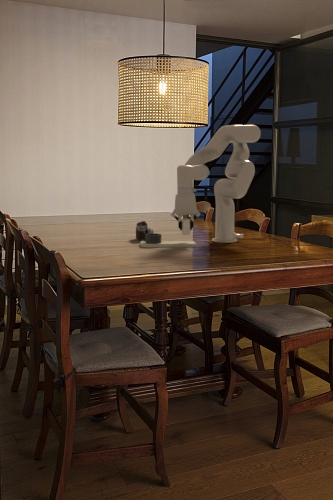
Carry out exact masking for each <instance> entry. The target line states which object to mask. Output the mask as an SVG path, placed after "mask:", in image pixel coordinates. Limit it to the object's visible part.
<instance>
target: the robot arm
mask: <svg viewBox="0 0 333 500" xmlns="http://www.w3.org/2000/svg"><path fill="white" fill-rule="evenodd" d="M219 127H220V128H218V130H217V131H216V132H215V133H214V134H213V136H212V137H211V138H210V140H209V141H208V143H207V144H206V145H205V146H204V147H202V148H201V149H199V150H198V151H196V152H194V153H193V154H192V155H191V156H190V157H189V159H188V160H187V161H186V162H185V164H184V165H183V164H181V165H180V164H179V165H178V166H177V168H176V184H177V186H176V187H177V188H176V189H177V191H176V192H177V194H175V198H174V209H173V211H172V212H171V213H170V216H171V217H172V218H174V219H175V220H176V221H177V222H178V225H177V226H178V229H179V231H181V230H182V222H181V220H182V217H183V216H189V219H190V227H191V231H193V228H194V221H195V220H196V219H197V218H198V217H200V216H201V212H200V211H199V210H198V208H197V200H196V194H195V192H197V188H194V181H203V180H206V179H207V178H208V177H209V174H210V170H209V168H208V166H207V165H206V163H208V162H212V161H214V160H215V159H218V158H219V157H220V156H221V155H222V154H223V153H224V151H225V150H226V148H227V147H228V146H229V144H232V146H233V151H232V153H231V156H230V157H229V160H228V162H227V164H226V166H225V170H224V174H225V176H226V177H227V178H221V179H218V180H217V181H216V182H215V184H214V186H213V192H214V193H213V194H214V197H215V198H214V199H215V223H214V225H215V226H214V227H215V228H214V229H215V231H214V234H215V235H214V236H215V237H213V238H212V239H211V241H212V242H214V243H225V244H227V243H228V244H230V243H236V242H237V241H238V238H239V239H242V238H243V239H244V234H243V233H236V232H235V213H236V212H235V209H236V207H235V202H234V200H233V199H241V198H242V199H243V197H245V195H246V194H247V192H248V190H249V188H250V186H251V183H252V181H253V179H254V176H255V173H256V170H255V169H256V168H255V165H254V163H253V162H252V161H250V160H249V157H250V149H249V147H248V144H247V143H256V142H258V141H259V139H260V138H261V129H260V127H259V126H257V125H255V124H244V125H243V124H231V125H230V124H229V125H222V126H219Z"/></svg>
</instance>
